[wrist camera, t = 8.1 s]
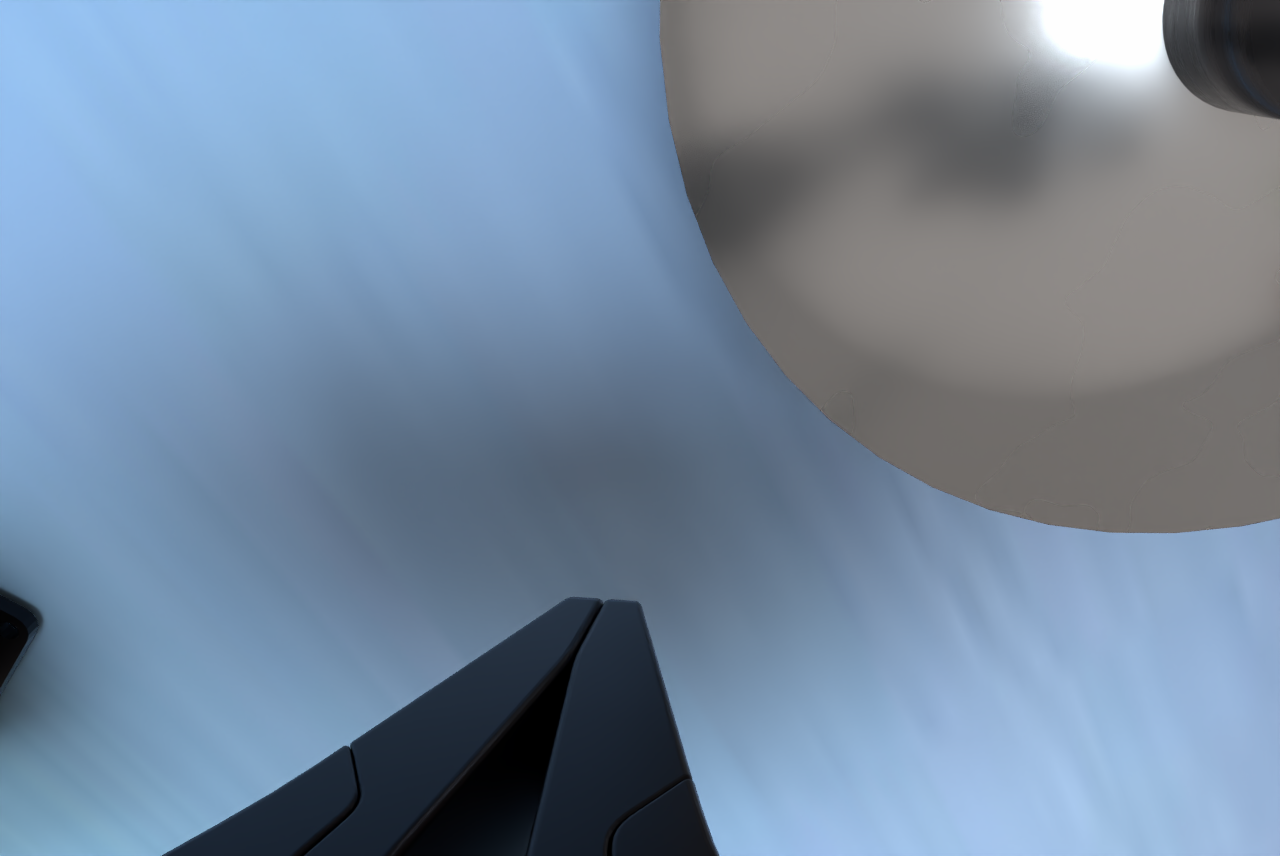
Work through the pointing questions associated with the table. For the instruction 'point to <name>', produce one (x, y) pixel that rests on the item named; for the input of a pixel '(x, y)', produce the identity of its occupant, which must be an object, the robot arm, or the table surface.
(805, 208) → the lid
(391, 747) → the robot arm
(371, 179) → the table surface
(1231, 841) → the table surface
